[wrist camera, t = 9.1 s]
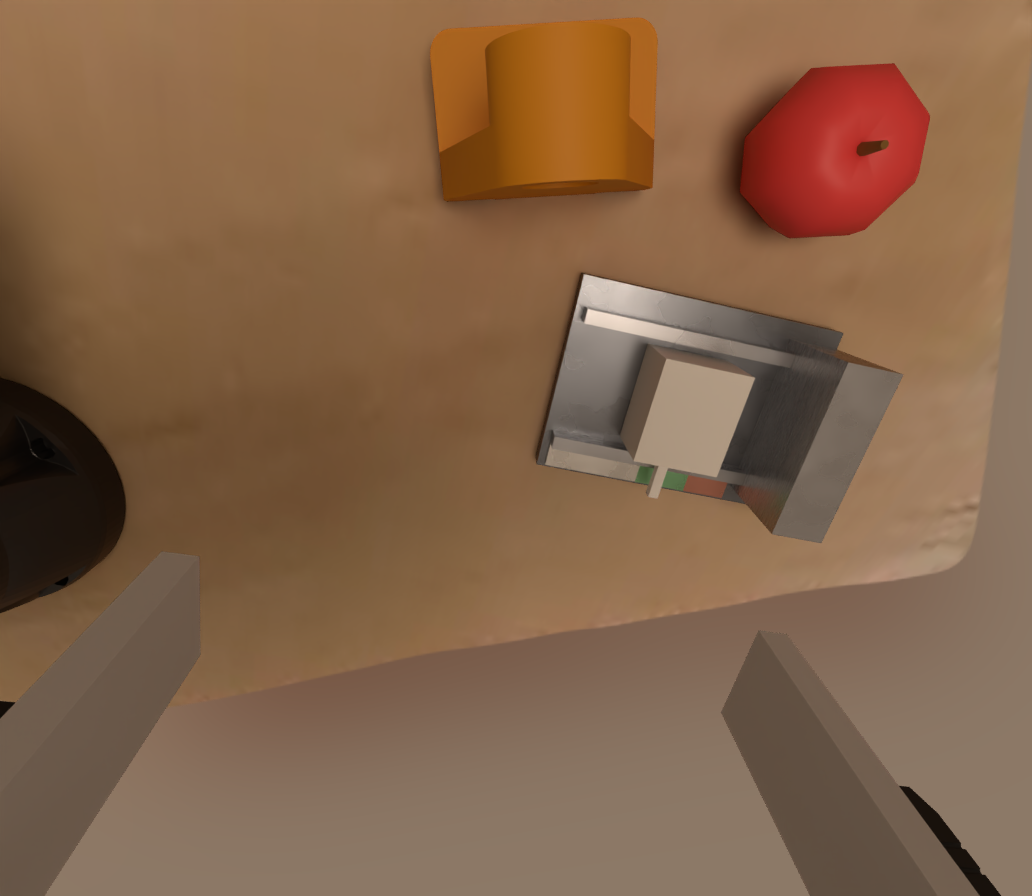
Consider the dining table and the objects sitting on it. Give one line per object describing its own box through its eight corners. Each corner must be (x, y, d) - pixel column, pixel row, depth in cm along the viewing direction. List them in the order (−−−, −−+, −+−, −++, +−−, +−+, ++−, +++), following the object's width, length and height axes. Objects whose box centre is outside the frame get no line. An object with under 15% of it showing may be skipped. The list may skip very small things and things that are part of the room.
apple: (848, 49, 29) (968, -13, 21) (878, 201, 31) (994, 194, 24) (701, 124, 30) (766, 90, 22) (743, 264, 32) (814, 276, 25)
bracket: (644, 34, 28) (736, -90, 17) (640, 190, 31) (716, 172, 20) (434, 47, 28) (388, -69, 17) (448, 202, 31) (417, 189, 20)
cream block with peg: (607, 475, 36) (619, 504, 32) (647, 343, 33) (666, 358, 29) (680, 489, 36) (700, 519, 33) (727, 360, 33) (755, 377, 29)
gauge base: (535, 456, 37) (542, 508, 30) (581, 272, 32) (601, 285, 26) (759, 499, 38) (813, 557, 32) (832, 329, 34) (912, 355, 27)
